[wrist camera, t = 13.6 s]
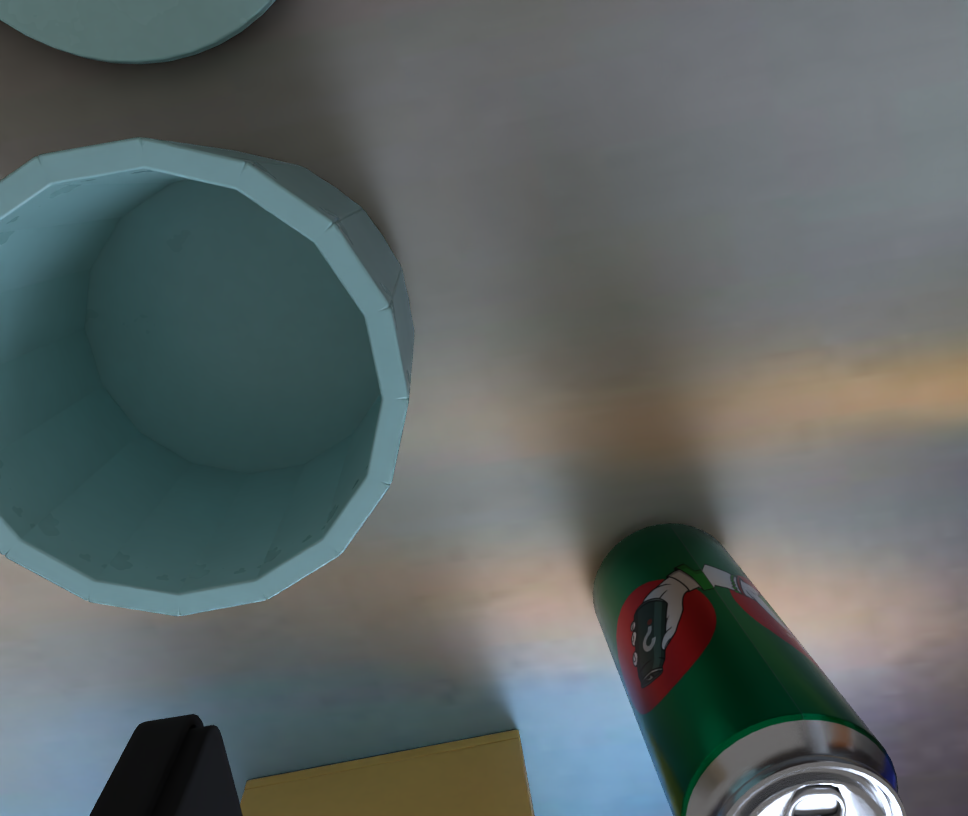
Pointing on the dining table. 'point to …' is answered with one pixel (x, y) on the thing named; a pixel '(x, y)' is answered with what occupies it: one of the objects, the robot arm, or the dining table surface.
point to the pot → (192, 373)
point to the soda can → (730, 689)
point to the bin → (405, 783)
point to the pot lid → (132, 26)
